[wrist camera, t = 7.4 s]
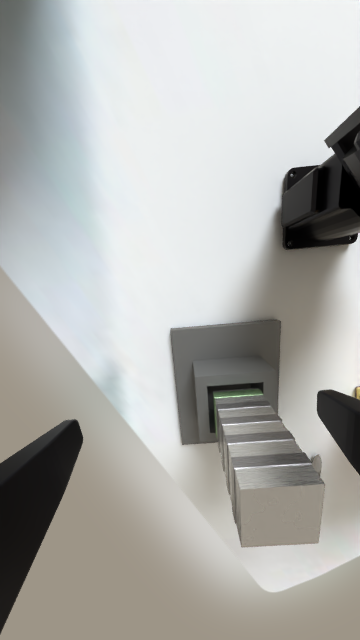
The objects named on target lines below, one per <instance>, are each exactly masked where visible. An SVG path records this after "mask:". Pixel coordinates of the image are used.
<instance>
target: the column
mask: <svg viewBox="0 0 360 640" xmlns="http://www.w3.org/2000/svg"><path fill="white" fill-rule="evenodd" d="M213 403H214V422H215V434H216V438H217V440H218V447H219V452H220V453H221V458H222V465H223V470H224V471H225V475H226V480H227V488H228V493H229V494H230V498H231V502H232V510H233V516H234V520H235V524H236V525H237V529H238V534H239V538H240V542H241V547H258V546H277V545H296V544H314V543H318V542H319V533H320V524H321V515H322V506H323V497H324V488H325V484H324V482H323V481H322V479H321V478H320V476H319V475H318V474H317V472H316V471H315V469H314V468H313V466H312V463H311V461H310V460H309V458H308V457H307V455H306V454H305V453H304V452H302V450H301V449H300V448H299V446H298V445H297V443H296V442H295V438H294V437H293V436H292V434H291V433H290V431H288V430H287V429H286V427H285V426H284V424H283V423H282V420H281V418H280V417H279V416H278V414H276V413H275V412H274V410H273V409H272V407H271V404H270V403H269V401H268V400H266V399H265V397H264V396H263V393H262V391H261V390H260V389H259V388H249V389H236V390H223V391H213Z"/></svg>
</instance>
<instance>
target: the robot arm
mask: <svg viewBox="0 0 360 640" xmlns="http://www.w3.org/2000/svg"><path fill="white" fill-rule="evenodd" d="M324 141H325V143H326V144H327V146H328V148H330V147H331V148H332V149H333V151H334V152H335V154H334V155H333V156H331V157H330V158H329V159H328V160H326V161H325V162H324V163H323V164H321V165H316V166H306V167H297V168H292V169H290V170H289V171H288V172H287V173H286V175H285V191H284V194H283V196H282V226H283V248H284V249H286V250H292V249H303V248H313V247H324V246H335V245H346V244H351V243H354V242H355V241H356V240H357V237H358V233H360V107H359V108H358V109H357V110H356V111H355V112H353V113H352V114H351V115H350V116H349V117H348V118H347V119H346V120H345V121H344V122H343V123H342V124H341V125H340V126H339V127H338V128H337V129H336V130H335V131H334V132H333V133H332V134H331V135H330V136H328V137H327V138H326V139H325V140H324ZM290 174H293V175H294V178H292V177H291V176H290ZM349 236H350V237H351V239H350V240H349ZM288 242H291V245H290V246H288ZM317 413H318V416H319V417H320V419H321V421H322V422H323V424H324V425H325V426H326V428H327V429H328V431H329V432H330V434H331V435H332V437H333V438H334V440H335V441H336V443H337V444H338V446H339V447H340V449H341V450H342V452H343V453H344V455H345V456H346V457H347V459H348V460H349V462H350V463H351V464H352V466H353V467H354V468H355V470H356V471H357V472H358V473H359V475H360V400H359V399H356V398H354V397H351V396H348V395H345V394H343V393H340V392H337V391H334V390H321V391H319V392H318V394H317ZM82 443H83V435H82V432H81V429H80V426H79V423H78V421H77V420H76V419H72V420H66V421H63V422H62V423H60V424H59V425H58V426H56V427H54V428H53V429H51V430H50V431H48V432H47V433H46V434H44V435H42V436H41V437H39V438H38V439H36V440H35V441H33V442H32V443H30V444H29V445H27V446H26V447H24V448H23V449H21V450H20V451H18V452H17V453H15V454H14V455H12V456H11V457H9V458H8V459H6V460H5V461H3V462H2V463H0V634H1V631H2V629H3V627H4V625H5V623H6V620H7V618H8V616H9V614H10V612H11V609H12V607H13V605H14V603H15V601H16V598H17V596H18V594H19V592H20V589H21V587H22V585H23V583H24V581H25V578H26V576H27V574H28V572H29V570H30V567H31V565H32V563H33V561H34V559H35V557H36V554H37V552H38V550H39V548H40V546H41V543H42V541H43V539H44V537H45V534H46V532H47V530H48V528H49V526H50V523H51V521H52V519H53V517H54V515H55V512H56V510H57V508H58V506H59V504H60V501H61V499H62V497H63V494H64V492H65V490H66V487H67V485H68V482H69V479H70V476H71V474H72V471H73V468H74V465H75V462H76V460H77V457H78V454H79V452H80V449H81V446H82Z"/></svg>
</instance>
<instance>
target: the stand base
mask: <svg viewBox="0 0 360 640" xmlns="http://www.w3.org/2000/svg"><path fill="white" fill-rule="evenodd" d="M280 329H281V321H279V320H267V321H255V322H243V323H231V324H219V325H207V326H195V327H183V328H171V340H172V350H173V360H174V369H175V379H176V389H177V398H178V408H179V418H180V427H181V437H182V445H185V444H200V443H215V442H218V440H217V438H216V434H215V422H214V403H213V391H223V390H236V389H249V388H259V389H260V390H261V391H262V393H263V396H264V397H265V399H266V400H268V401H269V403H270V404H271V407H272V409H273V410H274V412H275V413H276V414H278V387H279V358H280Z"/></svg>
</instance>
